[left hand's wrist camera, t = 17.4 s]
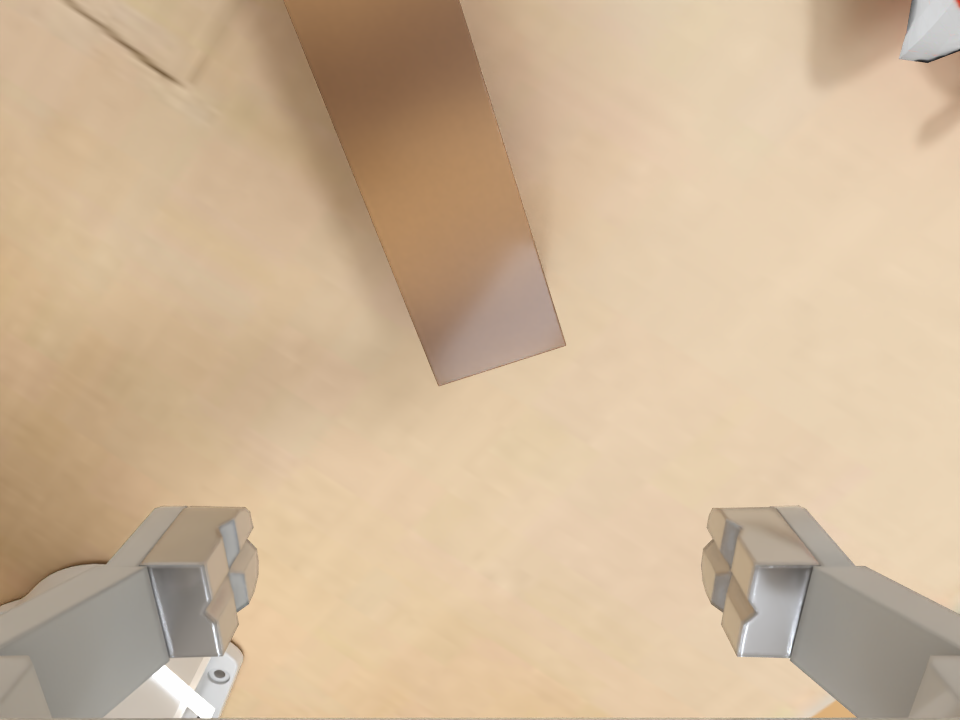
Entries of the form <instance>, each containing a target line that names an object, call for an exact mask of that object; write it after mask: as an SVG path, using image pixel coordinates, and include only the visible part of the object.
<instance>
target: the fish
mask: <svg viewBox="0 0 960 720" xmlns="http://www.w3.org/2000/svg"><path fill="white" fill-rule="evenodd" d="M958 51H960V0H912V3H911V9H910V15H909V20H908V26H907V32H906V36H905V39H904V43H903V46H902V50H901V53H900V57H899V59H904V60H911V61H918V62H925V63H929V62H931V61H934V60H937V59H939V58H942V57H945V56H947V55H950V54H953V53H955V52H958Z"/></svg>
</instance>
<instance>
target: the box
mask: <svg viewBox="0 0 960 720" xmlns="http://www.w3.org/2000/svg"><path fill="white" fill-rule="evenodd" d="M283 1H284V3H285V6H286V8H287V11H288V13H289V16H290V18H291V21H292V23H293V26H294V28H295V30H296V33H297V35H298V38H299V40H300V43H301V45H302V48H303V50H304V53H305V55H306V58H307V60H308V63H309V65H310V68H311V70H312V73H313V75H314V78H315V80H316V83H317V85H318V88H319V90H320V93H321V95H322V98H323V100H324V103H325V105H326V108H327V110H328V113H329V115H330V118H331V120H332V123H333V125H334V128H335V130H336V132H337V135H338V137H339V140H340V142H341V145H342V147H343V150H344V152H345V155H346V157H347V160H348V162H349V165H350V167H351V170H352V172H353V175H354V177H355V180H356V182H357V185H358V187H359V190H360V192H361V195H362V197H363V200H364V202H365V205H366V207H367V210H368V212H369V215H370V217H371V220H372V222H373V225H374V227H375V229H376V232H377V234H378V237H379V239H380V242H381V244H382V247H383V249H384V252H385V254H386V257H387V259H388V262H389V264H390V267H391V269H392V272H393V274H394V277H395V279H396V282H397V284H398V287H399V289H400V292H401V294H402V297H403V299H404V302H405V304H406V307H407V309H408V312H409V314H410V317H411V319H412V322H413V324H414V327H415V329H416V331H417V334H418V336H419V339H420V341H421V344H422V346H423V349H424V351H425V354H426V356H427V359H428V361H429V364H430V366H431V369H432V371H433V374H434V376H435V379H436V381H437V384H438V386H441V385H444V384H447V383H450V382H454V381H457V380H460V379H463V378H466V377H469V376H472V375H476V374H479V373H482V372H485V371H488V370H491V369H494V368H497V367H501V366H504V365H507V364H510V363H513V362H516V361H519V360H523V359H526V358H529V357H532V356H535V355H538V354H541V353H544V352H548V351H551V350H554V349H557V348H560V347H563V346H566V343H565V340H564V336H563V333H562V330H561V327H560V324H559V320H558V317H557V314H556V311H555V307H554V304H553V301H552V298H551V295H550V291H549V288H548V285H547V282H546V278H545V275H544V272H543V269H542V266H541V262H540V259H539V256H538V253H537V249H536V246H535V243H534V240H533V237H532V233H531V230H530V227H529V224H528V220H527V217H526V214H525V211H524V208H523V204H522V201H521V198H520V195H519V191H518V188H517V185H516V182H515V179H514V175H513V172H512V169H511V166H510V162H509V159H508V156H507V153H506V150H505V146H504V143H503V140H502V137H501V133H500V130H499V127H498V124H497V121H496V117H495V114H494V111H493V108H492V104H491V101H490V98H489V95H488V92H487V88H486V85H485V82H484V79H483V75H482V72H481V69H480V66H479V63H478V59H477V56H476V53H475V50H474V46H473V43H472V40H471V37H470V34H469V30H468V27H467V24H466V21H465V17H464V14H463V11H462V8H461V5H460V1H459V0H283Z"/></svg>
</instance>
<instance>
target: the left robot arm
mask: <svg viewBox="0 0 960 720" xmlns="http://www.w3.org/2000/svg"><path fill="white" fill-rule="evenodd" d="M252 529H253V524H252V519H251V514H250V511H249V510H248V509H246V508H245V507H211V506H189V507H188V506H161V507H158V508H155V509H154V510H153V511H152V512H151V513H150V514H149V515H148V517H147V518H146V519H145V520H144V521H143V522H142V523H141V525H140V526H139V527H138V528H137V529H136V530H135V531H134V533H133V534H132V535H131V536H130V537H129V538H128V540H127V541H126V542H125V543H124V544H123V545H122V546H121V548H120V549H119V550H118V551H117V552H116V553H115V554H114V556H113V557H112V558H111V559H110V560H109V561H108V563H107V564H85V565H78V566H73V567H69V568H65V569H62V570H60V571H57V572H55V573H53V574H51V575H49V576H48V577H46V578H45V579H43V580H42V581H41V582H39V583H38V584H37V585H36V586H35V587H34V588H33V589H32V590H31V591H30V592H29V593H28V594H27V595H26V596H25V597H23V598H22V599H19V600H16V601H13V602H10V603H6V604H4V605H1V606H0V720H960V614H958V613H956V612H954V611H952V610H950V609H948V608H946V607H944V606H942V605H940V604H938V603H936V602H934V601H932V600H930V599H928V598H926V597H924V596H922V595H920V594H918V593H917V592H915V591H913V590H911V589H909V588H907V587H905V586H903V585H901V584H899V583H897V582H895V581H893V580H891V579H889V578H887V577H885V576H883V575H881V574H879V573H877V572H875V571H873V570H871V569H869V568H868V567H866V566H855V565H854V564H853V563H852V561H851V560H850V559H849V558H848V557H847V556H846V555H845V553H844V552H843V551H842V550H841V549H840V548H839V546H838V545H837V544H836V543H835V542H834V541H833V540H832V538H831V537H830V536H829V535H828V534H827V533H826V532H825V530H824V529H823V528H822V527H821V526H820V525H819V524H818V522H817V521H816V520H815V519H814V518H813V517H812V515H811V514H810V513H809V512H808V511H807V510H806V509H805V508H803V507H801V506H770V507H744V508H712V510H711V512H710V514H709V517H708V523H707V529H708V531H709V533H710V535H711V536H712V538H713V539H712V540H711V541H710V542H709V543H708V544H707V545H706V546H705V548H704V549H703V555H702V563H701V568H702V580H703V584H704V587H705V591H706V594H707V596H708V598H709V600H710V602H711V604H712V605H713V606H715V607H716V608H717V609H719V610H720V611H722V612H723V617H722V623H721V625H722V627H723V629H724V631H725V633H726V635H727V637H728V639H729V641H730V643H731V645H732V647H733V649H734V651H735V653H736V655H737V657H773V658H790V661H791V662H792V663H794V664H795V665H796V666H797V667H798V668H799V669H801V670H802V671H803V672H804V673H805V674H807V675H808V676H809V677H810V678H811V679H812V680H814V681H815V682H816V683H817V684H818V685H819V686H821V687H822V688H823V689H824V690H825V691H827V692H828V693H829V694H830V695H831V696H832V697H834V698H835V699H836V700H837V701H838V702H840V703H841V704H842V705H843V706H844V707H845V708H847V709H848V710H849V711H850V712H851V713H852V714H854V715H855V716H856V717H857V718H220V716H221V714H222V712H223V709H224V707H225V704H226V702H227V699H228V697H229V694H230V692H231V689H232V687H233V684H234V682H235V679H236V677H237V674H238V672H239V669H240V667H241V665H242V662H243V654H242V652H241V651H240V650H239V648H238V647H236V646H235V645H234V644H233V643H231V642H230V641H231V639H232V637H233V635H234V633H235V631H236V629H237V627H238V625H239V623H238V617H237V612H238V611H240V610H241V609H243V608H244V607H245V606H247V605H248V604H249V602H250V600H251V598H252V596H253V594H254V591H255V587H256V583H257V578H258V563H259V560H258V554H257V549H256V548H255V547H254V545H253V544H252V543H251V542H250V541H249V540H248V539H247V538H248V536H249V535H250V533H251V531H252Z"/></svg>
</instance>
